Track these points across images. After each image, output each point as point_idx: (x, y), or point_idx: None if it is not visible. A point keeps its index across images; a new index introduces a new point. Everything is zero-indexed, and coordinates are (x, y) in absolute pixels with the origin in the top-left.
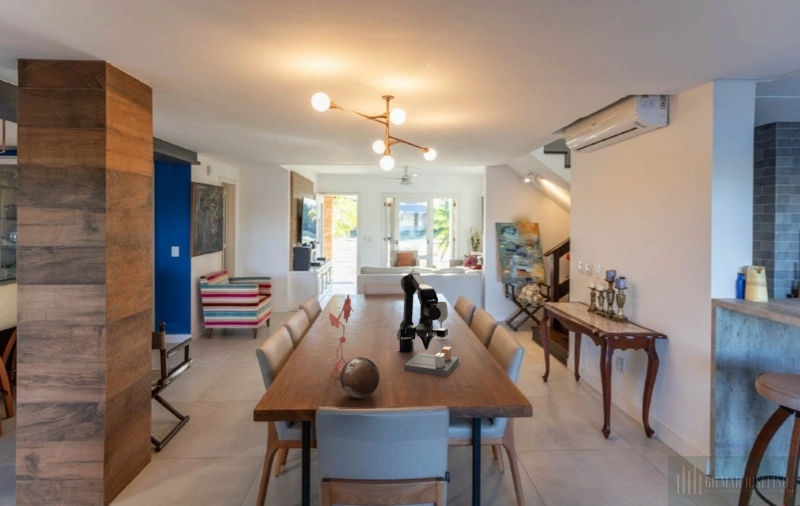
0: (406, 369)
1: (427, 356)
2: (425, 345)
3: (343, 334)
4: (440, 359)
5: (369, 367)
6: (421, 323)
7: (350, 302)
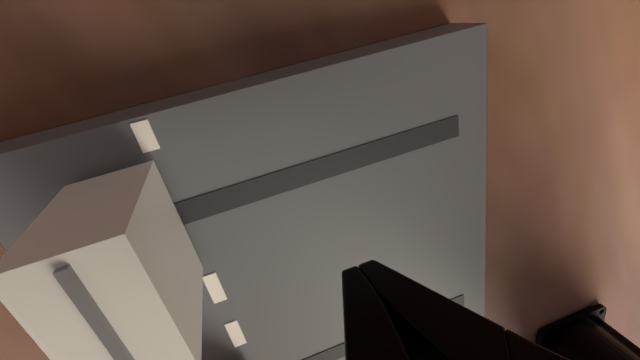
0: (436, 27)
1: None
2: (403, 316)
3: None
4: (31, 238)
5: None
6: None
7: None
